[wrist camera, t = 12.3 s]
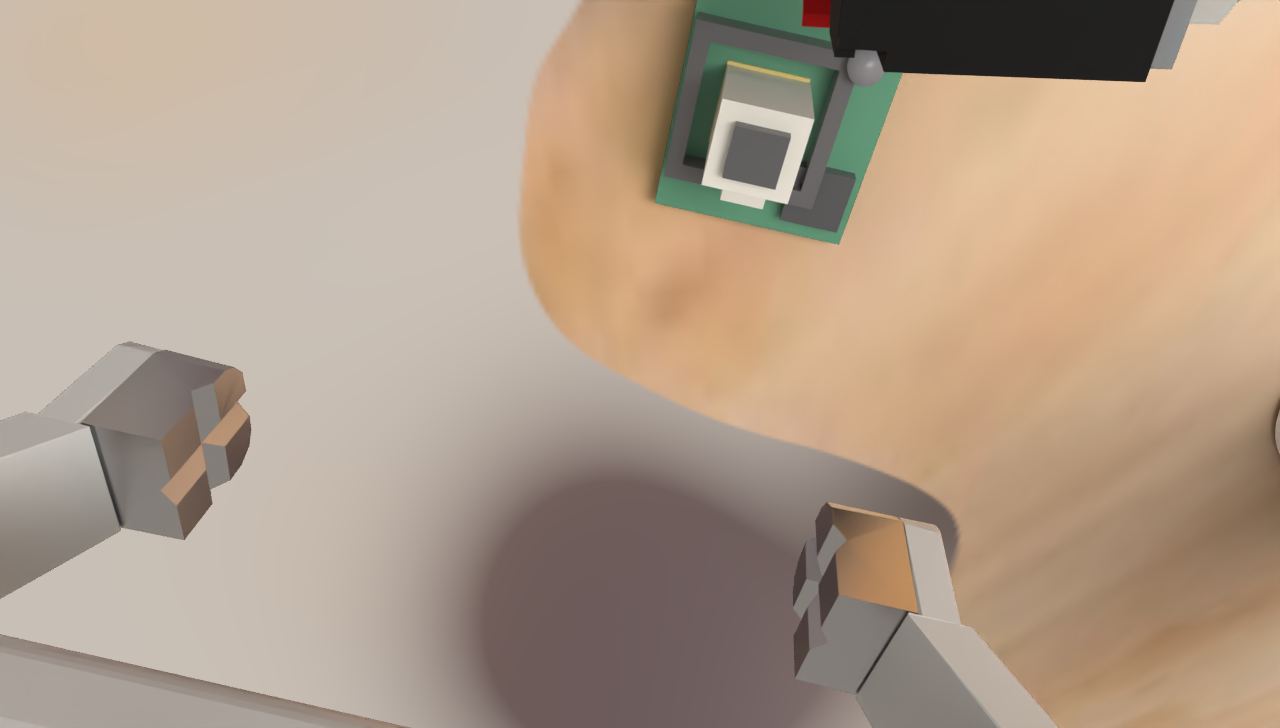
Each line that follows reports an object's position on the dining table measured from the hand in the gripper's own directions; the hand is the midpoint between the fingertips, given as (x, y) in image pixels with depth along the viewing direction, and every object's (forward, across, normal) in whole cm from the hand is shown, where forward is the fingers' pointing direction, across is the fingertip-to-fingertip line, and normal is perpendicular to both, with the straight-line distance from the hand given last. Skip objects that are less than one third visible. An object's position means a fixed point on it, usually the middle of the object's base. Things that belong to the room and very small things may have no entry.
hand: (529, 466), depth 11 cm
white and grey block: (+32, -4, +5) cm, 32 cm away
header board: (+33, -5, +5) cm, 34 cm away
